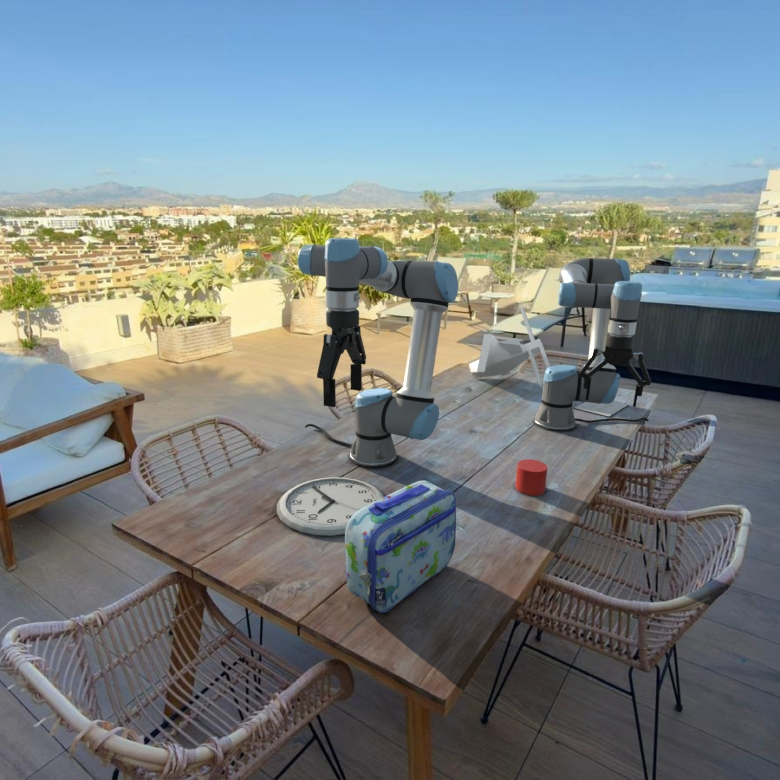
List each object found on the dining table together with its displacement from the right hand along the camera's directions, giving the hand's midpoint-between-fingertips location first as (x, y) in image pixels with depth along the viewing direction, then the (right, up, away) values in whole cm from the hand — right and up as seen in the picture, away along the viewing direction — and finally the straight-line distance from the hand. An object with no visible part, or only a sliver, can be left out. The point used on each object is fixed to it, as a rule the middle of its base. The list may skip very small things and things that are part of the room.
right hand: (610, 402), depth 162 cm
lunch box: (-66, -38, -50) cm, 90 cm away
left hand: (-79, +2, -36) cm, 87 cm away
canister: (-27, -25, -8) cm, 38 cm away
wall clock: (-84, -28, -19) cm, 90 cm away
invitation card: (+23, -4, +65) cm, 69 cm away
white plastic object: (-10, +6, +94) cm, 95 cm away
